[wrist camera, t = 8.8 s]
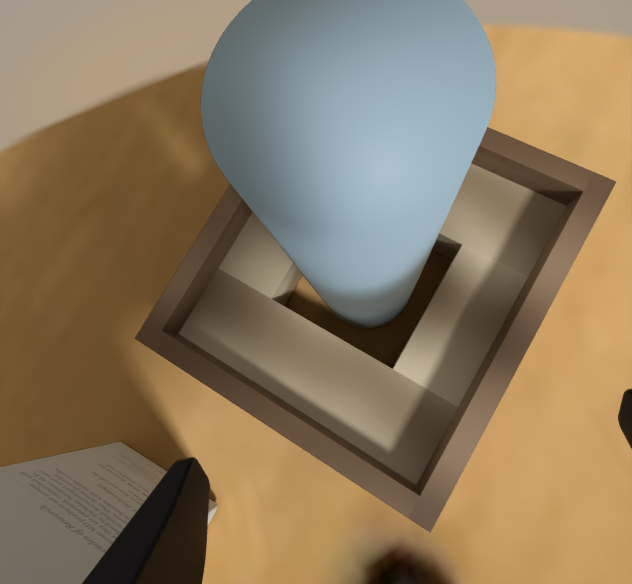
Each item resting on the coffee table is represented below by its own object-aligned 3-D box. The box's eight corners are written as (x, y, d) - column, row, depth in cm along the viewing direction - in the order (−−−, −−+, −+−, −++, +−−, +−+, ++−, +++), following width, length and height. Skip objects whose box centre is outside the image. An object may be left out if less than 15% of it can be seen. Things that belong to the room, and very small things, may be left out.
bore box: (419, 497, 18) (430, 532, 14) (179, 344, 20) (134, 338, 16) (568, 218, 19) (616, 181, 15) (322, 107, 21) (311, 52, 18)
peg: (408, 332, 19) (489, 236, 5) (319, 324, 19) (180, 218, 6) (414, 244, 19) (501, -48, 6) (327, 239, 20) (221, -34, 6)
